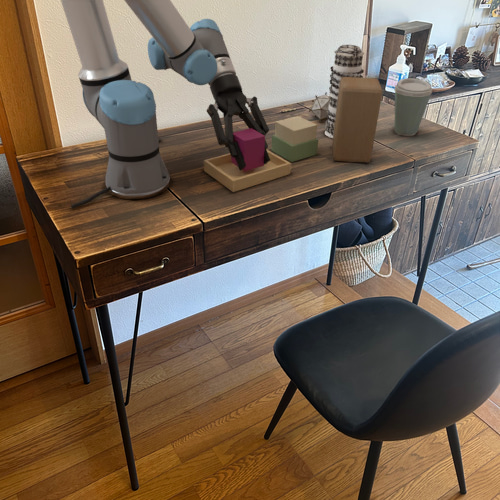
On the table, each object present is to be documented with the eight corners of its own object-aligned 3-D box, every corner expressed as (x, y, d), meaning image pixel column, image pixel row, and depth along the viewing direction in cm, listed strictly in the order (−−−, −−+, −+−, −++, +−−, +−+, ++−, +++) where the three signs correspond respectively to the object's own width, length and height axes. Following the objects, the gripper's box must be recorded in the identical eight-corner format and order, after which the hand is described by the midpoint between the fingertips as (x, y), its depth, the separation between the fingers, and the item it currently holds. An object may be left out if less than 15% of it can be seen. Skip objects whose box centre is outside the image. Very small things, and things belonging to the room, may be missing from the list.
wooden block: (366, 149, 138) (378, 77, 127) (370, 164, 130) (383, 89, 118) (331, 147, 139) (340, 75, 127) (332, 162, 131) (342, 87, 119)
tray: (233, 192, 116) (233, 180, 114) (204, 170, 125) (203, 160, 123) (290, 174, 124) (291, 163, 123) (259, 155, 133) (259, 145, 132)
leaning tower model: (347, 142, 142) (359, 52, 127) (318, 135, 146) (327, 47, 131) (358, 132, 148) (372, 45, 134) (331, 126, 152) (341, 41, 138)
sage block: (291, 162, 130) (292, 146, 128) (271, 150, 136) (272, 135, 134) (316, 154, 135) (318, 139, 132) (296, 143, 140) (297, 128, 138)
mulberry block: (244, 171, 120) (244, 140, 115) (231, 162, 124) (231, 132, 119) (264, 165, 123) (265, 135, 118) (250, 157, 127) (251, 127, 122)
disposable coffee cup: (429, 137, 146) (441, 87, 137) (396, 140, 144) (407, 89, 135) (411, 124, 154) (421, 76, 145) (380, 127, 152) (389, 78, 143)
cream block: (293, 145, 128) (294, 130, 126) (274, 135, 133) (275, 121, 131) (315, 139, 132) (317, 124, 130) (297, 129, 137) (298, 115, 135)
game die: (319, 128, 160) (325, 98, 161) (339, 126, 154) (345, 95, 154) (301, 119, 155) (307, 88, 155) (321, 116, 148) (327, 84, 148)
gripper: (192, 78, 115) (225, 167, 113) (261, 67, 123) (293, 151, 121) (184, 94, 122) (215, 179, 120) (250, 83, 130) (281, 162, 128)
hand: (254, 165), depth 120 cm, fingers closed on mulberry block, 6 cm apart
